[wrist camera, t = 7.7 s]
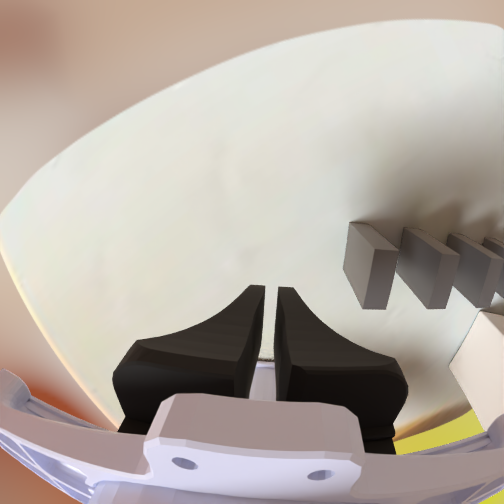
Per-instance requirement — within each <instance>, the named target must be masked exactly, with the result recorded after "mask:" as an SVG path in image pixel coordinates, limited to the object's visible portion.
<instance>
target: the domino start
mask: <svg viewBox="0 0 504 504" xmlns="http://www.w3.org/2000/svg"><path fill="white" fill-rule="evenodd" d="M398 255H399V250H398V249H397V248H396V247H394V246H393V245H392V244H391V243H390V242H389V241H388V240H386V239H385V238H384V237H383V236H382V235H381V234H380V233H378V232H377V231H376V230H375V229H374V228H373V227H371V226H370V225H369V224H362V223H351V222H349V229H348V237H347V245H346V252H345V259H344V265H343V270H344V272H345V274H346V276H347V278H348V280H349V282H350V284H351V286H352V288H353V290H354V293H355V295H356V297H357V299H358V301H359V303H360V305H361V307H362V309H379V310H386V307H387V303H388V299H389V295H390V291H391V287H392V283H393V279H394V274H395V270H396V265H397V260H398Z"/></svg>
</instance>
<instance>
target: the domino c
mask: <svg viewBox="0 0 504 504" xmlns="http://www.w3.org/2000/svg"><path fill="white" fill-rule="evenodd" d="M446 246H447V247H449V248H450V249H452V250H453V251H455V252H456V253H458V254H459V255H461V256H460V260H459V264H458V268H457V271H456V275H455V279H454V282H453V286H454V287H455V288H456V289H457V290H458V291H459V292H460V293H461V294H462V295H463V296H464V297H466V298H467V299H468V300H469V301H470V302H471V303H472V304H473V305H474V306H475V307H476V308H486V307H490V305H491V302H492V299H493V296H494V293H495V290H496V287H497V284H498V281H499V277H500V274H501V270H502V267H503V263H504V259H503V258H502V257H500V256H498V255H497V254H495V253H493V252H492V251H490V250H488V249H487V248H485V247H483V246H482V245H480V244H478V243H477V242H475V241H473V240H471V239H470V238H468V237H466V236H464V235H462V234H456V233H449V235H448V240H447V245H446Z"/></svg>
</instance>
